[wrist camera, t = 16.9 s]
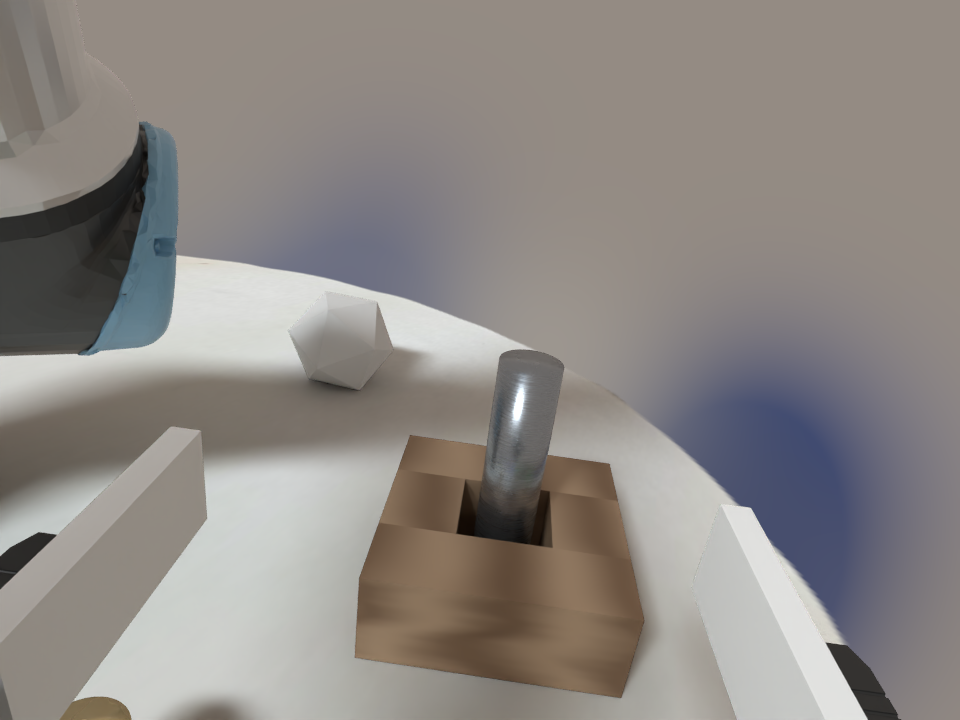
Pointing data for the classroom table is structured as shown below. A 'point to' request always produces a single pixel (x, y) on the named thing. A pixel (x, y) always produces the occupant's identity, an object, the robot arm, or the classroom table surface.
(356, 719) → the classroom table surface
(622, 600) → the hole block
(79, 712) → the short brass pin
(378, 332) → the die
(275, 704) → the classroom table surface
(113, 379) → the classroom table surface
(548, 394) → the long metal pin
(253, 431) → the classroom table surface
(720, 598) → the robot arm
